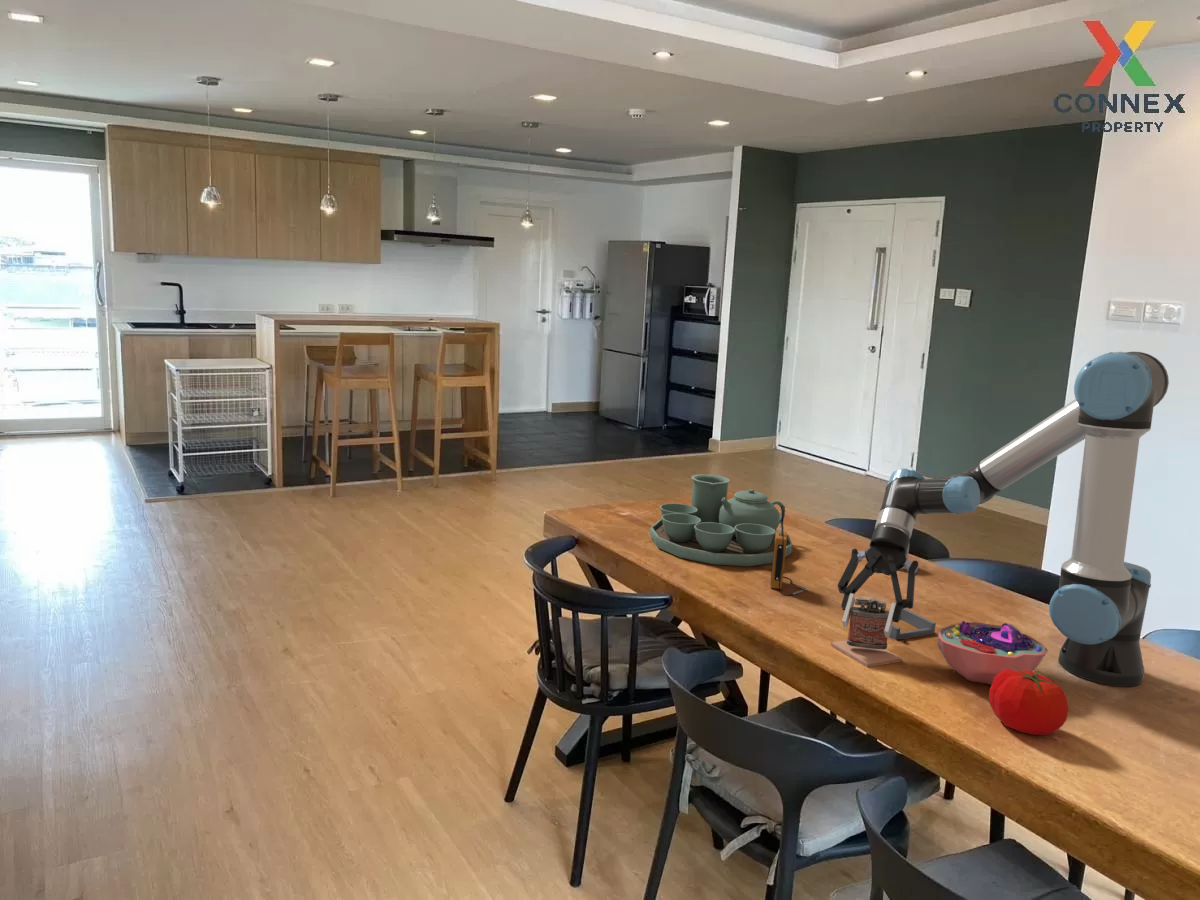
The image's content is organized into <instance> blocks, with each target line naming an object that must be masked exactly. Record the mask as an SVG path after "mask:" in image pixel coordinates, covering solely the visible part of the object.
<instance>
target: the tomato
mask: <svg viewBox="0 0 1200 900" xmlns="http://www.w3.org/2000/svg"><path fill="white" fill-rule="evenodd" d="M1014 667H1015V666H1014ZM1017 669H1018V668H1017ZM1018 670H1019V669H1018ZM1039 672H1040V671H1039V670H1038V671H1037V672H1035V671H1027V670H1019V671H1013V670H1008V669H1006V670H1002V671H1001V672H1000V673H999V674H998V675H997V676H995V677H994V680H993V682H992V684H990V688H989V691H988V693H989V695H988V696H989V699H988V700H989V701H988V702H989V705H990V707H991V709H992V712H993V713H994V715H995V717H996V718H998V720H999V721H1000V722H1002V723H1003V725H1004V726H1005V727H1007V728H1010V729H1012V730H1015V731H1017V732H1020V733H1023V734H1024V733H1025V734H1029V735H1033V736H1034V735H1035V736H1037V735H1042V736H1043V735H1044V736H1045V735H1046V736H1047V735H1051V734H1053V733H1055V732H1057V731H1058V730H1059V729H1061V728H1062V727H1063V726H1064V724H1065V723H1066V720H1067V718H1068V714H1069V702H1068V698H1067V694H1066V693H1065V691H1064V689H1062V687H1060V686H1059V685H1058V684H1056V683H1055V682H1054V681H1052V680H1051V679H1049V678H1047V677H1046V676H1044V675H1042V674H1039Z"/></svg>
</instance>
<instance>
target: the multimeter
mask: <svg viewBox="0 0 1200 900" xmlns="http://www.w3.org/2000/svg"><path fill="white" fill-rule="evenodd" d="M782 506H783V507H784V510H785V511H786V507H785V505H784V504H783V505H782ZM782 506H781V508H780V510H781V509H782ZM784 510H783V509H782V518H781V523H780V531H776V535H775V543H774V553H773V563H771V564H772V566H771V575H770V588H771V589H776V590H779V593H780V594H781V595H783V596H787V597H790V596H793V595H797V594H801V592H803V591H809V592H812V591H811V590H810V589H808V588H806V587H804V586H801V585H798V584H794V583H792V582H793V580H792V579H791V578H790V577H787V576H784V573H785V572H784V571H785V561H786V557H785V553H786V544H787V534H788V532H787V531H784V519H785V516H784ZM784 578H785V579H788V580H789V581H790V582H789V584H790V585H792V586H796V588H800V589H802V590H798V591H795V592H793V593H790V594H786V593H782V591H781V590H782V589H783V583H784V582H783V581H784Z"/></svg>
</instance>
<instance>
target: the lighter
mask: <svg viewBox="0 0 1200 900" xmlns="http://www.w3.org/2000/svg"><path fill="white" fill-rule="evenodd" d="M854 605H856V606H853V607H851V610H850V613H851V616H850V619H849V624H848V625H849V627H848V633H847V634H848V636H847V639H846V640H847V644H848V645H850V646H854V647H860V648H867V649H886V650H888V638H887V637H885V633H884V630H885V626H886V623H887V619H888V615H889V611H890V610H886V608H887V601H884V600H877V598H875V597H871V598H869V599H868V598H863V597H855V602H854Z"/></svg>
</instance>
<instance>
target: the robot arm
mask: <svg viewBox="0 0 1200 900" xmlns="http://www.w3.org/2000/svg"><path fill="white" fill-rule="evenodd" d="M1169 381H1170V380H1169V375H1168V371H1167V369H1166V367H1165V366H1164V364H1163V363H1162V361H1160V360H1159V359H1158V358H1156V357H1155V356H1153V355H1152V354H1149V353H1145V352H1142V351H1126V352H1125V351H1124V352H1123V351H1117V352H1112V351H1110V352H1107V353H1103V354H1100V355H1098V356H1097V357H1095V358H1092V359H1091V360H1089V361H1088V362H1087V363H1086V364H1084V366H1083V367H1082V368H1081V369H1080V371H1079V372H1078V373H1077V375H1076V378H1075V381H1074V383H1073V384H1074V386H1073V392H1074V393H1073V394H1074V397H1075V398H1074V400H1072V401H1070V402H1069V403H1067V404H1065V406H1063V407H1061V408H1060V409H1058V410H1057V411H1055V412H1054V413H1053V414H1051V415H1049V416H1048V417H1046V418H1044V419H1043V420H1042V421H1040V422H1038V423H1037V424H1035V425H1033V427H1031V428H1029V429H1028V430H1026V431H1025V432H1024V433H1022V434H1020V435H1018V436H1017V437H1015V438H1014V439H1012V440H1011V441H1010V442H1008V443H1006V444H1005V445H1003V446H1001V447H1000V448H998V450H996V451H995V452H993V453H991V454H990V455H988V456H987V457H985V458H983V459H982V460H981V461H979V462H977V463H975V465H973V466H971V467H970V468H968V469H966V470H965V471H964V472H960V473H957V474H952V475H950V476H945V477H933V478H925V477H924V475H923V474H922V473H921V472H918V471H916V470H915V469H908V468H898V469H895V470H894V471H893V472H892V473H891V474H890V476H889V479H888V482H887V483H886V486H885V488H884V489H885V491H884V495H883V499H882V503H881V507H880V510H879V513H878V515H877V519H876V522H875V525H874V530H873V533H872V535H871V539H870V543H869V545H868V546H869V547H867V548H866V550H858V549H857V548H852V549H851V557H850V559H849V562H848V564H847V565H846V568H845V569H844V571H843V574H842V575H841V577H840V579H839V581H838V583H837V589H838V592H839V593H840V594H843V598H842V602H841V608H842V611H844V613H843V616H842V619H841V623H842V627H843V628H845V629H847V628H848V625H849V623H850V617H851V613H850V610H851V607H854V605H855V599H856V597H855V594H856V593H857V592H858V591H859V590H860V589H861V588H862V586H863V585H864V584H865V583H866V581H867V580H869V579H870V577H872V576H873V575H874V574H882V575H886V576H890V578H891V584H892V585H891V586H892V589H893V590H892V591H893V594H894V600H895V602H891V606H890V608H889V610H888V611H889V615H888V619H887V623H886V626H885V630H884V633H885V637H887V639H889V638H890V637H889V636H890V632H891V629H892V625H894V623H899V622H900V620H901V619H900V616H901V612H902V610H903V609H904V608H906V609H908V610H912V609H913V608H914V598H915V596H914V595H915V586H916V585H915V584H916V576H917V573H918V572H919V569H920V567H919V562H918V560H913V561H911V560H909V559H908V560H906V553H907V549H908V545H909V544H910V539H911V537H912V535H913V534H912V533H913V530H914V526H915V521H916V520H917V516H918V515H923V514H924V515H927V514H958V515H960V514H964V513H972V512H975V511H976V510H977V509H978V506H979V505H982V504H984V503H986V502H988V501H990V500H991V499H993V498H994V497H995V495H996V494H998V493H1000V492H1001V491H1002V490H1004V489H1006V488H1007V487H1010V485H1012V484H1013V483H1016V482H1017V481H1019V480H1020V479H1022V478H1024V477H1026V476H1027V475H1029V474H1030V473H1032V472H1033V471H1035V470H1037V469H1039V468H1040V467H1042V466H1044V465H1045V464H1047V463H1048V462H1050V461H1052V460H1053V459H1055V458H1056V457H1058V456H1059V455H1061V454H1063V453H1064V452H1066V451H1068V450H1069V449H1071V448H1072V447H1074V446H1075V445H1078V444H1079V443H1081V442H1082V441H1084V445H1083V446H1084V448H1083V456H1082V464H1081V472H1080V473H1081V474H1080V481H1079V489H1078V497H1077V498H1078V499H1077V507H1076V515H1075V523H1074V532H1073V539H1072V540H1073V541H1072V548H1071V549H1072V550H1071V557H1070V558H1068V559H1067V560H1065V561H1064V562H1063V563H1061V567H1060V576H1059V582H1058V583H1059V584H1058V589H1057V590H1055V591H1054V593H1053V595H1052V597H1051V599H1050V601H1049V605H1048V608H1049V611H1048V613H1049V616H1050V619H1051V621H1052V623H1053V625H1054V627H1055V628H1056V629H1057V630H1058V631H1059V632H1060V633H1061V634H1062V635H1063V636H1065V637H1066V639H1065V641H1064V642H1063V644H1062V646H1061V648H1060V650H1059V654H1058V659H1057V660H1058V664H1059V665H1060V667H1062V668H1063V669H1064V670H1065V671H1067V672H1070V673H1071V674H1073V675H1075V676H1077V677H1080V678H1082V679H1086V680H1088V681H1091V682H1094V683H1098V684H1103V685H1108V686H1114V687H1135V686H1138V685H1140V684H1142V683H1143V681H1144V674H1145V666H1144V661H1143V656H1142V655H1143V654H1142V650H1141V645H1140V642H1141V641H1140V640H1141V636H1142V635H1141V633H1142V629H1143V625H1144V624H1143V623H1144V619H1145V614H1146V613H1145V612H1146V608H1147V603H1148V598H1149V592H1150V588H1152V584H1151V582H1152V581H1151V580H1152V574H1151V571H1150V570H1149V569H1147V568H1146V567H1143V566H1140V565H1139V564H1134V563H1130V562H1127V561H1125V557H1126V548H1127V540H1128V533H1129V532H1128V531H1129V525H1130V515H1131V509H1132V500H1133V491H1134V486H1135V485H1134V484H1135V476H1136V469H1137V460H1138V452H1139V447H1140V446H1139V445H1140V439H1141V438H1142V436H1144V435H1145V434H1146V433H1148V432H1149V431H1151V428H1152V423H1153V421H1152V420H1153V414H1154V407H1156V406H1158V405H1159V404H1160V402H1161V401H1162V400H1163V399H1164V398H1165V395H1166V394H1167V392H1168V388H1169V383H1170V382H1169ZM909 546H910V545H909ZM863 559H866V562H867V563H866V564H865V565H864V567H863V569H862V570H861V571H860V572H859V573H858V574H857V575H856V576H855V577H854V579H853V580H852V578H853V575H854V574H855V571H857V568H858V567H859V566H858V565H859V563H861V562H862V561H863ZM904 566H906V571H907V586H906V596H905V597H906V598H905V599H903V597H902V591H901V587H900V586H901V585H900V582H899V576H898V573H897V572H899V569H901V568H902V567H904ZM851 580H852V581H851Z"/></svg>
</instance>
